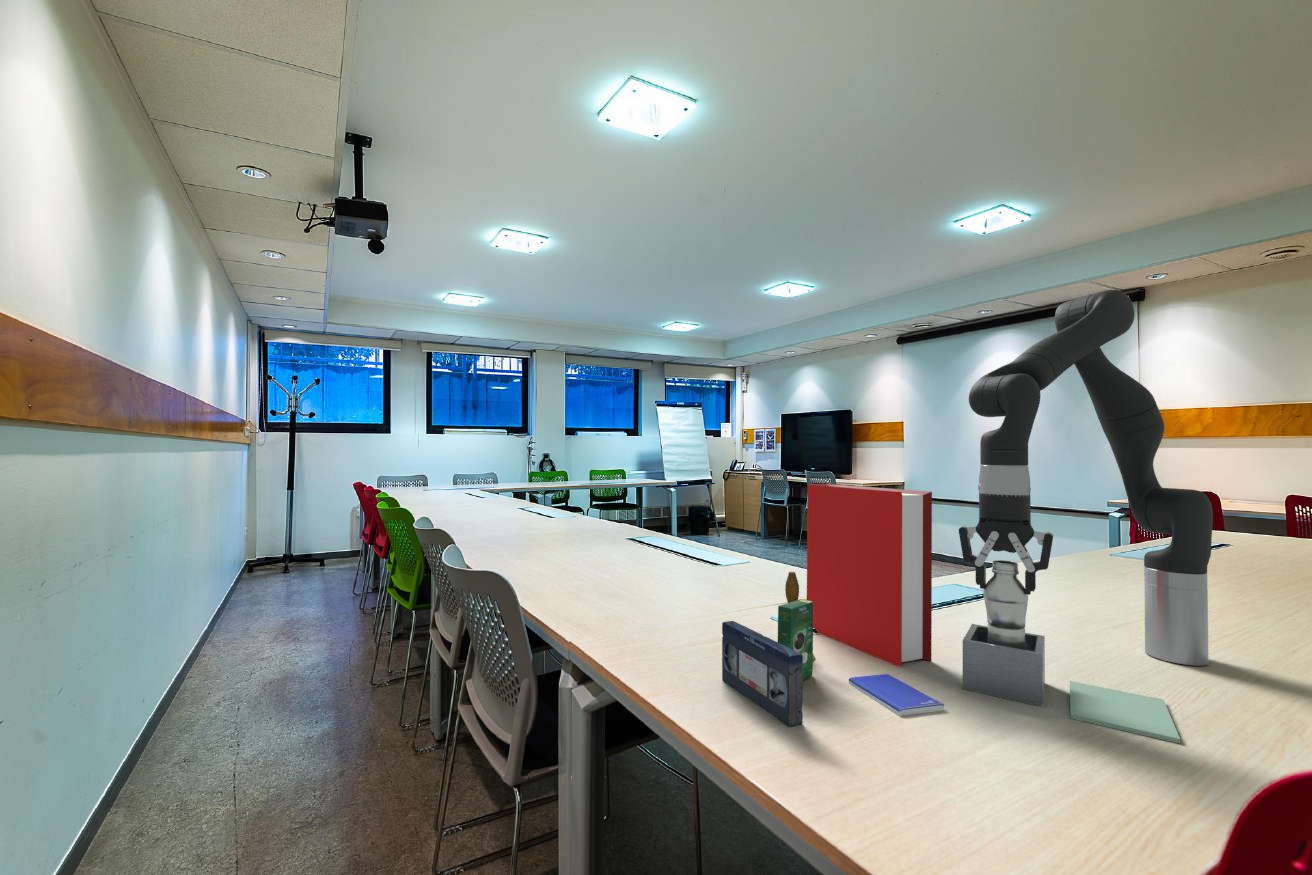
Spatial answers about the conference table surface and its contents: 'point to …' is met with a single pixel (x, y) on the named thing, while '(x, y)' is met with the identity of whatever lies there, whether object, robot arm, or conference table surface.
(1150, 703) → the mat
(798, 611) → the coffee box
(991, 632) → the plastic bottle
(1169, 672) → the conference table surface
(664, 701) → the conference table surface
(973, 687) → the sleeve
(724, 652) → the vhs cassette tape
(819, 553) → the book
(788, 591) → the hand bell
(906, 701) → the hard drive
